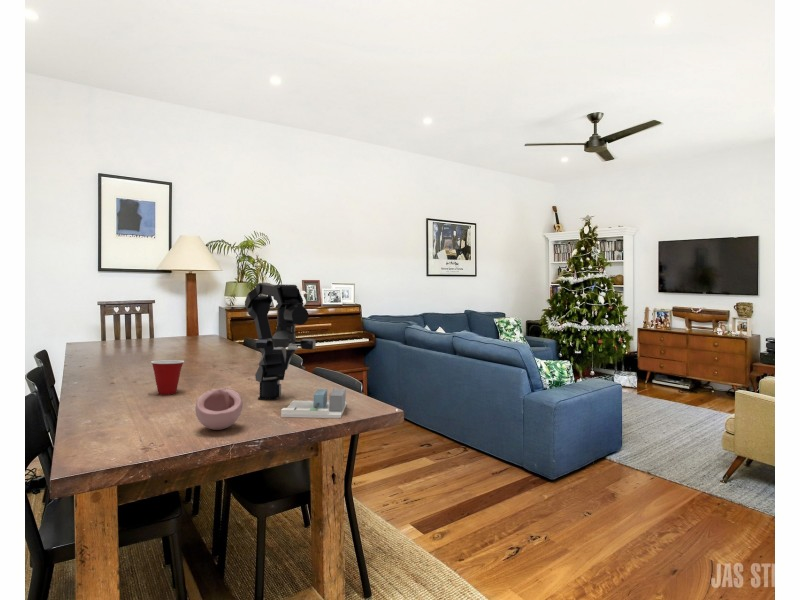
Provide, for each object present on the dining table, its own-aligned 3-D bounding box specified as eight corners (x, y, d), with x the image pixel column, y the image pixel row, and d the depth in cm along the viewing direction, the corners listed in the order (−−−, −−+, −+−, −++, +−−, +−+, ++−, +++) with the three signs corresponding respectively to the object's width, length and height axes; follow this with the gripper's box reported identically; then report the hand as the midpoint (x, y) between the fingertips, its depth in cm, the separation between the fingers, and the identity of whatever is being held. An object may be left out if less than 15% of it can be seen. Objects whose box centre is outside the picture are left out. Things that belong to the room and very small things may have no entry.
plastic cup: (189, 390, 169) (190, 358, 169) (174, 397, 159) (174, 363, 158) (161, 389, 170) (161, 357, 169) (143, 396, 159) (144, 362, 159)
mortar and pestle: (194, 438, 117) (195, 394, 117) (195, 424, 128) (195, 384, 128) (243, 432, 122) (244, 390, 122) (240, 420, 133) (240, 381, 133)
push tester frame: (281, 417, 137) (281, 397, 137) (293, 403, 153) (293, 385, 153) (340, 418, 137) (340, 398, 137) (346, 404, 153) (346, 386, 153)
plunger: (310, 413, 137) (311, 398, 137) (318, 402, 149) (318, 388, 149) (320, 413, 137) (320, 398, 137) (327, 403, 149) (327, 389, 149)
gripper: (249, 324, 141) (249, 373, 142) (309, 325, 141) (309, 374, 142) (260, 321, 153) (260, 367, 153) (316, 322, 153) (315, 368, 153)
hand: (285, 369), depth 150 cm, fingers closed
